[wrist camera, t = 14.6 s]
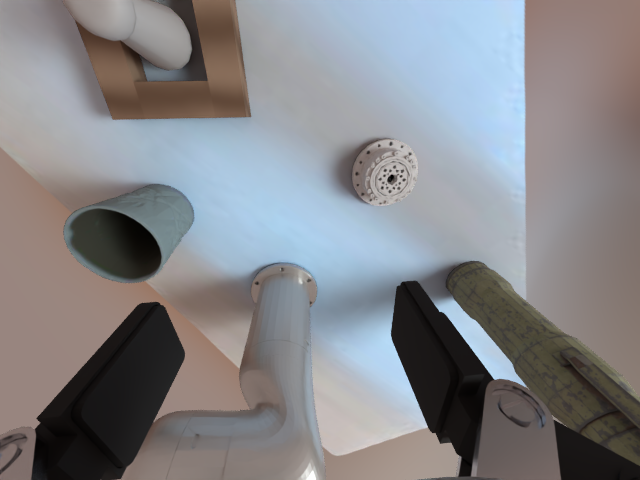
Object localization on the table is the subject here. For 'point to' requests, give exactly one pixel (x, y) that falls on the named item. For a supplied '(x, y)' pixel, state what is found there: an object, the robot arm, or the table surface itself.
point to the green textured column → (552, 361)
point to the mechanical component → (385, 172)
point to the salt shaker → (137, 28)
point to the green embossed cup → (129, 233)
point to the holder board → (176, 96)
